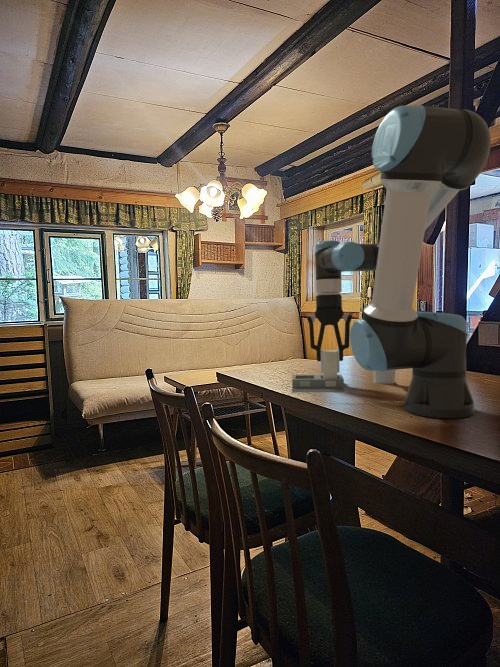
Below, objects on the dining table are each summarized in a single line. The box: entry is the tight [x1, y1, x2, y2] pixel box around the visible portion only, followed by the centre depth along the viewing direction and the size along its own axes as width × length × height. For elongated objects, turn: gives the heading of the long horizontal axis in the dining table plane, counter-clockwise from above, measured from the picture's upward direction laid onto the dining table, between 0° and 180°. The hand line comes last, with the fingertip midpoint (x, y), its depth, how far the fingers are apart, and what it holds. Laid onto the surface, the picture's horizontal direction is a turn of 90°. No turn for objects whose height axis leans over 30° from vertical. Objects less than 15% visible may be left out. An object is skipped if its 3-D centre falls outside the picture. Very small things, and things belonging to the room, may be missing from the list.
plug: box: [322, 349, 338, 379], centre depth 131 cm, size 5×4×10 cm
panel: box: [291, 374, 346, 393], centre depth 132 cm, size 20×15×4 cm
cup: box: [372, 370, 396, 385], centre depth 134 cm, size 8×8×12 cm
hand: (330, 371), depth 131 cm, fingers closed on plug, 4 cm apart
